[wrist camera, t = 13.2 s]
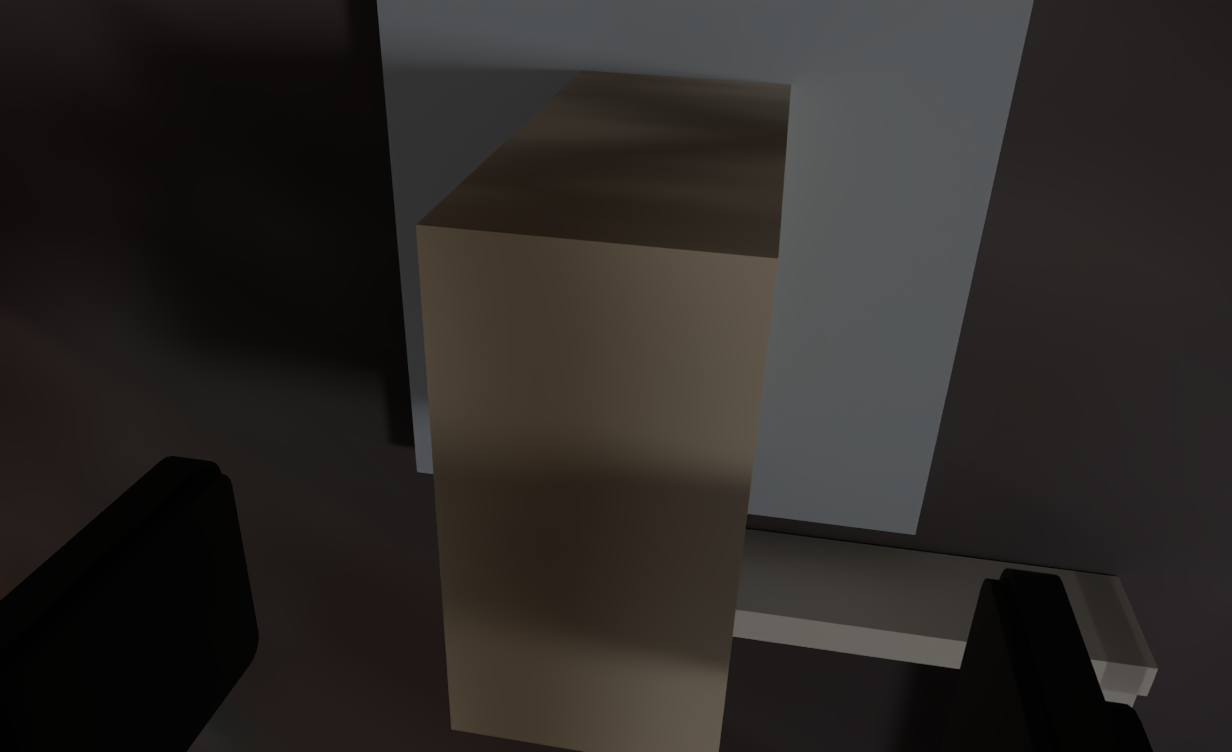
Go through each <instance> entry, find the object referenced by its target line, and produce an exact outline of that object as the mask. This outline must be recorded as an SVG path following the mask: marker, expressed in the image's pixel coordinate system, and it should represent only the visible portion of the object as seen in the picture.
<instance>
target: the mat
mask: <svg viewBox="0 0 1232 752" xmlns="http://www.w3.org/2000/svg"><path fill="white" fill-rule="evenodd" d="M1033 1H1034V0H377V9H378V20H379V32H380V44H381V55H382V67H383V79H384V90H385V102H386V114H387V125H388V137H389V149H390V160H391V172H392V184H393V195H394V207H395V219H396V230H397V242H398V254H399V265H400V277H401V288H402V300H403V312H404V323H405V335H406V347H407V358H408V370H409V382H410V393H411V405H412V417H413V428H414V440H415V452H416V463H417V472H422V473H430V474H433V460H432V446H431V432H430V418H429V404H428V389H427V375H426V361H425V347H424V333H423V319H422V305H421V290H420V276H419V262H418V248H417V234H416V224H417V223H418V222H419V221H420V220H421V219H423V218H424V217H425V216H426V215H427V214H428V213H429V212H430V211H431V210H432V209H433V208H434V207H435V206H436V205H438V204H439V203H440V202H441V201H442V200H443V199H444V198H445V197H446V196H447V195H448V194H449V193H450V192H452V191H453V190H454V189H455V188H456V187H457V186H458V185H459V184H460V183H461V182H462V181H463V180H464V179H465V178H467V177H468V176H469V175H470V174H471V173H472V172H473V171H474V170H475V169H476V168H477V167H478V166H479V165H480V164H482V163H483V162H484V161H485V160H486V159H487V158H488V157H489V156H490V155H491V154H492V153H493V152H494V151H495V150H497V149H498V148H499V147H500V146H501V145H502V144H503V143H504V142H505V141H506V140H507V139H508V138H509V137H510V136H512V135H513V134H514V133H515V132H516V131H517V130H518V129H519V128H520V127H521V126H522V125H523V124H524V123H525V122H527V121H528V120H529V119H530V118H531V117H532V116H533V115H534V114H535V113H536V112H537V111H538V110H539V109H541V108H542V107H543V106H544V105H545V104H546V103H547V102H548V101H549V100H550V99H551V98H552V97H553V96H554V95H556V94H557V93H558V92H559V91H560V90H561V89H562V88H563V87H564V86H565V85H566V84H567V83H568V82H569V81H571V80H572V79H573V78H574V77H575V76H576V75H577V74H578V73H579V72H580V71H581V70H584V71H598V72H613V73H627V74H642V75H656V76H671V77H685V78H700V79H714V80H729V81H743V82H758V83H772V84H786V85H791V94H790V107H789V121H788V135H787V148H786V162H785V175H784V189H783V203H782V216H781V230H780V243H779V257H778V266H777V274H776V282H775V291H774V299H773V307H772V315H771V324H770V332H769V340H768V348H767V356H766V365H765V373H764V381H763V389H762V398H761V406H760V414H759V422H758V431H757V439H756V447H755V455H754V464H753V472H752V480H751V488H750V497H749V505H748V513H747V514H754V515H762V516H770V517H778V518H786V519H794V520H802V521H810V522H818V523H826V524H834V525H841V526H849V527H857V528H865V529H873V530H881V531H889V532H897V533H905V534H913V535H915V534H916V529H917V525H918V520H919V515H920V511H921V506H922V502H923V497H924V493H925V488H926V484H927V479H928V475H929V470H930V466H931V461H932V457H933V452H934V448H935V443H936V439H937V434H938V430H939V425H940V421H941V416H942V412H943V407H944V403H945V398H946V394H947V389H948V385H949V380H950V376H951V371H952V367H953V362H954V357H955V353H956V348H957V344H958V339H959V335H960V330H961V326H962V321H963V317H964V312H965V308H966V303H967V299H968V294H969V290H970V285H971V281H972V276H973V272H974V267H975V263H976V258H977V254H978V249H979V245H980V240H981V236H982V231H983V227H984V222H985V218H986V213H987V209H988V204H989V199H990V195H991V190H992V186H993V181H994V177H995V172H996V168H997V163H998V159H999V154H1000V150H1001V145H1002V141H1003V136H1004V132H1005V127H1006V123H1007V118H1008V114H1009V109H1010V105H1011V100H1012V96H1013V91H1014V87H1015V82H1016V78H1017V73H1018V69H1019V64H1020V60H1021V55H1022V51H1023V46H1024V41H1025V37H1026V32H1027V28H1028V23H1029V19H1030V14H1031V10H1032V5H1033Z"/></svg>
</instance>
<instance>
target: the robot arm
mask: <svg viewBox="0 0 1232 752" xmlns="http://www.w3.org/2000/svg"><path fill="white" fill-rule="evenodd" d="M258 640H259V634H258V627H257V621H256V616H255V610H254V605H253V599H252V594H251V588H250V582H249V577H248V571H247V566H246V560H245V555H244V549H243V543H242V538H241V532H240V527H239V521H238V516H237V510H236V504H235V499H234V493H233V488H232V484H231V480H230V479H229V477H228V476H226V475H224V474H221V471H220V468H219V467H218V466H217V464H216V463H214V462H212V461H206V460H198V459H191V458H183V457H176V456H170V457H166V458H164V459H163V460H161V461H160V462H159V463H158V464H156V465H155V466H154V467H153V468H152V469H151V470H150V471H148V472H147V473H146V474H145V475H144V476H143V477H142V478H140V479H139V480H138V481H137V482H136V483H135V484H134V485H132V486H131V487H130V488H129V489H128V490H127V491H126V492H124V493H123V494H122V495H121V496H120V497H119V498H118V499H116V500H115V501H114V502H113V503H112V504H111V505H109V506H108V507H107V508H106V509H105V510H104V511H103V512H101V513H100V514H99V515H98V516H97V517H96V518H95V519H93V520H92V521H91V522H90V523H89V524H88V525H87V526H85V527H84V528H83V529H82V530H81V531H80V532H79V533H77V534H76V535H75V536H74V537H73V538H72V539H71V540H69V541H68V542H67V543H66V544H65V545H64V546H63V547H61V548H60V549H59V550H58V551H57V552H56V553H55V554H53V555H52V556H51V557H50V558H49V559H48V560H47V561H45V562H44V563H43V564H42V565H41V566H40V567H39V568H37V569H36V570H35V571H34V572H33V573H32V574H30V575H29V576H28V577H27V578H26V579H25V580H24V581H22V582H21V583H20V584H19V585H18V586H17V587H16V588H14V589H13V590H12V591H11V592H10V593H9V594H8V595H6V596H5V597H4V598H3V599H2V600H1V601H0V752H187V750H188V749H189V747H190V746H191V745H192V743H193V742H194V741H195V739H196V738H197V736H198V735H199V734H200V732H201V731H202V730H203V728H204V727H205V725H206V724H207V723H208V721H209V720H210V719H211V717H212V716H213V714H214V713H215V712H216V710H217V709H218V708H219V706H220V705H221V703H222V702H223V701H224V699H225V698H226V697H227V695H228V694H229V692H230V691H231V690H232V688H233V687H234V686H235V684H236V683H237V681H238V680H239V679H240V677H241V676H242V675H243V673H244V672H245V670H246V669H247V668H248V666H249V665H250V663H251V662H252V660H253V658H254V656H255V653H256V650H257V647H258ZM939 752H1153V750H1152V748H1151V745H1150V743H1149V740H1148V738H1147V735H1146V733H1145V730H1144V728H1143V725H1142V723H1141V721H1140V719H1139V717H1138V715H1137V713H1136V711H1135V710H1134V709H1133V708H1132V707H1130V706H1129V705H1128V704H1123V703H1116V702H1110V701H1105V698H1104V695H1103V693H1102V690H1101V687H1100V684H1099V682H1098V679H1097V676H1096V673H1095V670H1094V668H1093V665H1092V662H1091V659H1090V657H1089V654H1088V651H1087V648H1086V646H1085V643H1084V640H1083V637H1082V634H1081V632H1080V629H1079V626H1078V623H1077V621H1076V618H1075V615H1074V612H1073V609H1072V607H1071V604H1070V601H1069V598H1068V596H1067V593H1066V590H1065V587H1064V585H1063V582H1062V580H1061V578H1060V577H1059V576H1058V575H1055V574H1048V573H1040V572H1033V571H1026V570H1018V569H1011V568H1006V569H1004V570H1003V572H1002V574H1001V576H1000V579H999V580H997V579H990V578H986V579H985V580H984V581H983V583H982V586H981V589H980V593H979V597H978V601H977V605H976V609H975V612H974V616H973V620H972V624H971V628H970V632H969V635H968V639H967V643H966V647H965V651H964V655H963V658H962V662H961V666H960V670H959V674H958V678H957V681H956V685H955V689H954V693H953V697H952V701H951V704H950V708H949V712H948V716H947V720H946V724H945V727H944V731H943V735H942V739H941V743H940V748H939Z"/></svg>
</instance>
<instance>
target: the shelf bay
mask: <svg viewBox="0 0 1232 752" xmlns="http://www.w3.org/2000/svg"><path fill="white" fill-rule="evenodd" d="M1006 568H1011V569H1018V570H1026V571H1033V572H1040V573H1048V574H1055V575H1058V576H1059V577H1060V578H1061V580H1062V582H1063V585H1064V587H1065V590H1066V593H1067V596H1068V598H1069V601H1070V604H1071V607H1072V609H1073V612H1074V615H1075V618H1076V621H1077V623H1078V626H1079V629H1080V632H1081V634H1082V637H1083V640H1084V643H1085V646H1086V648H1087V651H1088V654H1089V657H1090V659H1091V662H1092V665H1093V668H1094V670H1095V673H1096V676H1097V679H1098V682H1099V684H1100V687H1101V690H1102V693H1103V695H1104V698H1105V701H1110V702H1116V703H1123V704H1128V705H1129V706H1130V707H1132V706H1133V704H1134V701H1135V699H1136V696H1137V695H1142V696H1147V695H1148V692H1149V690H1150V687H1151V685H1152V682H1153V680H1154V677H1155V675H1156V673H1157V670H1158V668H1157V666H1156V663H1155V661H1154V659H1153V656H1152V654H1151V652H1150V649H1149V647H1148V645H1147V642H1146V640H1145V638H1144V635H1143V633H1142V631H1141V629H1140V626H1139V624H1138V622H1137V619H1136V617H1135V615H1134V612H1133V610H1132V608H1131V605H1130V603H1129V601H1128V598H1127V596H1126V594H1125V592H1124V589H1123V587H1122V585H1121V582H1120V580H1119V578H1118V577H1116V576H1108V575H1101V574H1093V573H1085V572H1077V571H1070V570H1062V569H1054V568H1046V567H1038V566H1031V565H1023V564H1015V563H1007V562H1000V561H992V560H984V559H976V558H969V557H961V556H953V555H945V554H937V553H930V552H922V551H914V550H906V549H899V548H891V547H883V546H875V545H868V544H860V543H852V542H844V541H836V540H829V539H821V538H813V537H805V536H798V535H790V534H782V533H774V532H767V531H759V530H751V529H746V530H745V538H744V546H743V554H742V562H741V571H740V579H739V587H738V595H737V604H736V612H735V620H734V628H733V636H734V637H741V638H748V639H755V640H762V641H768V642H775V643H782V644H789V645H796V646H803V647H810V648H817V649H824V650H831V651H838V652H845V653H852V654H858V655H865V656H872V657H879V658H886V659H893V660H900V661H907V662H914V663H921V664H928V665H935V666H941V667H948V668H955V669H960V666H961V662H962V658H963V655H964V651H965V647H966V643H967V639H968V635H969V632H970V628H971V624H972V620H973V616H974V612H975V609H976V605H977V601H978V597H979V593H980V589H981V586H982V583H983V581H984V580H985V579H986V578H990V579H997V580H999V579H1000V576H1001V574H1002V572H1003V570H1004V569H1006Z"/></svg>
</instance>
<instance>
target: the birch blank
mask: <svg viewBox="0 0 1232 752" xmlns="http://www.w3.org/2000/svg"><path fill="white" fill-rule="evenodd" d="M790 94H791V85H786V84H772V83H758V82H743V81H729V80H714V79H700V78H685V77H671V76H656V75H642V74H627V73H613V72H598V71H584V70H581V71H580V72H579V73H578V74H577V75H576V76H575V77H574V78H573V79H572V80H571V81H569V82H568V83H567V84H566V85H565V86H564V87H563V88H562V89H561V90H560V91H559V92H558V93H557V94H556V95H554V96H553V97H552V98H551V99H550V100H549V101H548V102H547V103H546V104H545V105H544V106H543V107H542V108H541V109H539V110H538V111H537V112H536V113H535V114H534V115H533V116H532V117H531V118H530V119H529V120H528V121H527V122H525V123H524V124H523V125H522V126H521V127H520V128H519V129H518V130H517V131H516V132H515V133H514V134H513V135H512V136H510V137H509V138H508V139H507V140H506V141H505V142H504V143H503V144H502V145H501V146H500V147H499V148H498V149H497V150H495V151H494V152H493V153H492V154H491V155H490V156H489V157H488V158H487V159H486V160H485V161H484V162H483V163H482V164H480V165H479V166H478V167H477V168H476V169H475V170H474V171H473V172H472V173H471V174H470V175H469V176H468V177H467V178H465V179H464V180H463V181H462V182H461V183H460V184H459V185H458V186H457V187H456V188H455V189H454V190H453V191H452V192H450V193H449V194H448V195H447V196H446V197H445V198H444V199H443V200H442V201H441V202H440V203H439V204H438V205H436V206H435V207H434V208H433V209H432V210H431V211H430V212H429V213H428V214H427V215H426V216H425V217H424V218H423V219H421V220H420V221H419V222H418V223H417V224H416V234H417V248H418V262H419V276H420V290H421V305H422V319H423V333H424V347H425V361H426V375H427V389H428V404H429V418H430V432H431V446H432V460H433V474H434V489H435V503H436V517H437V531H438V545H439V559H440V573H441V588H442V602H443V616H444V630H445V644H446V658H447V673H448V687H449V701H450V715H451V729H453V730H459V731H465V732H471V733H477V734H483V735H489V736H495V737H501V738H507V739H513V740H519V741H525V742H531V743H536V744H542V745H548V746H554V747H560V748H566V749H572V750H578V751H584V752H719V744H720V735H721V727H722V719H723V711H724V703H725V694H726V686H727V678H728V670H729V661H730V653H731V645H732V637H733V628H734V620H735V612H736V604H737V595H738V587H739V579H740V571H741V562H742V554H743V546H744V538H745V530H746V521H747V513H748V505H749V497H750V488H751V480H752V472H753V464H754V455H755V447H756V439H757V431H758V422H759V414H760V406H761V398H762V389H763V381H764V373H765V365H766V356H767V348H768V340H769V332H770V324H771V315H772V307H773V299H774V291H775V282H776V274H777V266H778V257H779V243H780V230H781V216H782V203H783V189H784V175H785V162H786V148H787V135H788V121H789V107H790Z"/></svg>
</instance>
